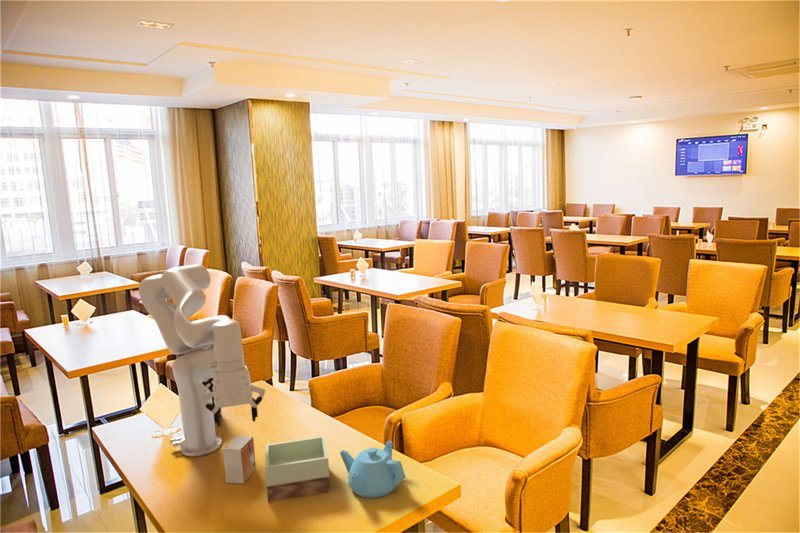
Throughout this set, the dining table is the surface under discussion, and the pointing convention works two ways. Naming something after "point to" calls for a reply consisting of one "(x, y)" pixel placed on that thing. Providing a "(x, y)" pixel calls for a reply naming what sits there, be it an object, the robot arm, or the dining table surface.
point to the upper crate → (296, 461)
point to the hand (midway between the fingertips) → (236, 422)
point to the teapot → (373, 471)
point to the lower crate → (298, 489)
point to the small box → (239, 459)
